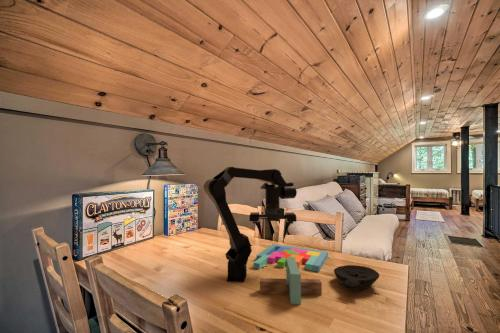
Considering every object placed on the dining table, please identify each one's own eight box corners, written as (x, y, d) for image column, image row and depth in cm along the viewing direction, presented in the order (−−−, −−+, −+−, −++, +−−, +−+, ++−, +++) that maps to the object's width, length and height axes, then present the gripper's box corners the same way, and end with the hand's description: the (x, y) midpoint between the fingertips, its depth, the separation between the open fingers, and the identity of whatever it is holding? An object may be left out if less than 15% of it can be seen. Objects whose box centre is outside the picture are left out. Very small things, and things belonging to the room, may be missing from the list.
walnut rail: (259, 293, 79) (259, 281, 79) (260, 290, 82) (260, 278, 82) (321, 295, 78) (321, 282, 78) (320, 291, 80) (319, 279, 81)
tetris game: (272, 249, 127) (247, 268, 102) (272, 243, 127) (247, 261, 102) (328, 257, 114) (314, 281, 89) (328, 251, 114) (314, 273, 89)
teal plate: (286, 282, 87) (286, 257, 87) (294, 283, 87) (294, 257, 87) (291, 304, 73) (290, 274, 73) (301, 304, 73) (300, 274, 73)
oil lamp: (324, 292, 80) (324, 277, 80) (339, 272, 96) (339, 259, 96) (374, 306, 71) (374, 289, 72) (382, 281, 88) (381, 267, 88)
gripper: (248, 202, 91) (248, 243, 91) (298, 202, 90) (298, 244, 90) (250, 198, 102) (250, 235, 102) (294, 198, 101) (294, 236, 101)
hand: (272, 238), depth 98 cm, fingers open, 9 cm apart
